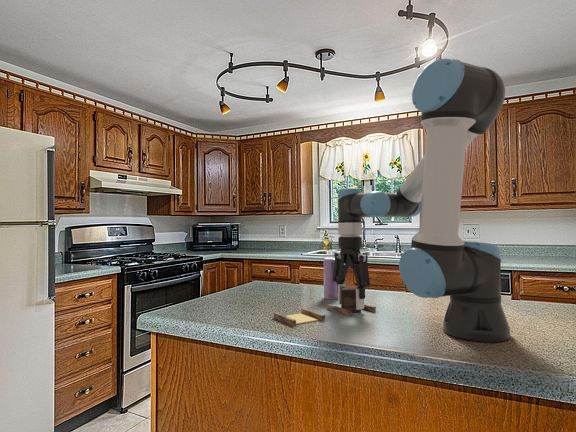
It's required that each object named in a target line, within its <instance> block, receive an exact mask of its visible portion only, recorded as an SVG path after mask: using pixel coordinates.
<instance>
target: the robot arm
mask: <svg viewBox="0 0 576 432" xmlns="http://www.w3.org/2000/svg"><path fill="white" fill-rule="evenodd" d="M505 99H506V87H505V82H504V81H503V79H502V77H501V76H500V75H499V73H497V72H496V71H494V70H493V69H490V68H489V67H488V68H487V67H483V66H479V65H478V66H477V65H475V64H471V63H467V62H463V61H462V60H460V59H455V58H454V59H451V58H450V59H449V58H439V59H436V60H434V61H431V62H430V63H428V64H427V65H426V66H425V67H424V68H423V69H422V71H421V73H419V74H418V76H417V78H416V79H415V82H414V84H413V88H412V91H411V101H412V104H413V105H414V108H415V109H416V110H418V111H419V112H420V113H421V118H420V124H421V125H422V127H423V128H424V129H425V130H426V137H425V138H426V139H425V150H424V152H425V153H424V155H423V157H422V158H421V159H420V160H419V162H418V163H417V164H416V165H415V167H414V168H413V169H412V170H411V172H410V173H409V175H408V176H407V177H406V179H405V180H404V181H403V183H402V184H401V185H400V187H399V188H398V189H397V190H396V191H395V192H384V191H379V190H375V191H374V190H371V191H366V192H362V190H361V189H360V188H358V187H346V188H345V187H344V188H340V189H338V193H337V220H338V223H337V229H338V230H337V234H338V235H339V237H338V238H337V239H338V240H337V241H338V243H337V244H338V248H340V252H339V251H337V252H334V253H333V254H334V257H333V258H335V263H334V272H333V281H335V282H336V283H337V292H338V299H337V304H338V305H339V306H341V286H347V285H346V284H347V283H346V281H345V280H346V278H347V275H348V274H347V273H348V270H349V267H350V268H351V269H352V272H353V275H354V279H355V282H356V285H357V286H358V287H356V309H357V310H360V309H361V310H365V309H364V304H365V299H366V288H370V287H371V282H370V281H371V280H370V273H369V264H368V261H369V258H368V257H369V255H368V254H362V253H361V249H362V247H363V238H362V236H361V235H362V233H363V232H362V231H363V230H362V223H363V222H362V221H363V220H362V218H405V219H406V218H411V217H412V218H413V217H416V216H418V215H419V214H420V215H419V227H418V232H416V234H414V235H413V236H411V241H410V243H411V245H410V248H408V249H406V250H404V252H403V253H402V254H401V255H400V258H399V263H398V267H399V268H398V269H399V274H400V278H401V280H402V282H403V284H404V285H405V286H406V288H407V290H408V291H409V292H411V293H412V295H415V296H417V297H418V298H422V299H423V298H424V299H429V298H430V299H438V298H441V297H449V303H448V306H447V309H446V311H445V314H444V318H443V321H442V330H443V332H444V333H445V334H447V335H449V336H451V337H455V338H458V339H462V340H467V341H470V342H471V341H473V342H479V343H480V342H481V343H501V342H506V341H508V340H510V339H511V326H510V325H509V323H508V319H507V316H506V314H505V312H504V309H503V306H502V305H503V304H502V275H501V274H502V273H501V269H502V268H501V266H502V265H501V262H502V258H501V252H500V248H499V246H497V244H494V243H489V242H481V241H470V240H469V241H468V240H463V239H462V238H461V237H460V236H459V228H460V227H459V225H460V216H461V204H462V194H463V183H464V174H465V172H464V171H465V161H466V151H467V147H468V146H469V145H470V144H471V143H472V142H473V141H474V139H476V137H478V136H483V135H484V134H485V133H486V131H487V130H488V129H489V128H490V127H491V126H492V124H493V123H494V122H495V121H496V119H497V117H498V116H499V114H500V112H501V110H502V107H503V105H504V103H505ZM336 277H337V278H336Z"/></svg>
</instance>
